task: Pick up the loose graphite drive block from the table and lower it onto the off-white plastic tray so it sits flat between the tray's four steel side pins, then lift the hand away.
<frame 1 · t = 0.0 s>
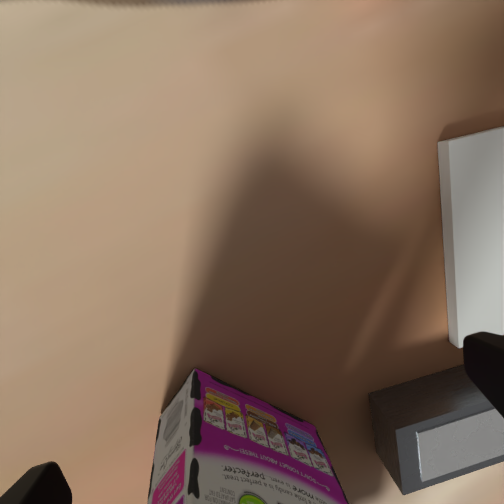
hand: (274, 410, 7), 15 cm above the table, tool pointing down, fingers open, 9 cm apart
candy bar box: (240, 420, 25), on the table
drive: (427, 403, 28), on the table
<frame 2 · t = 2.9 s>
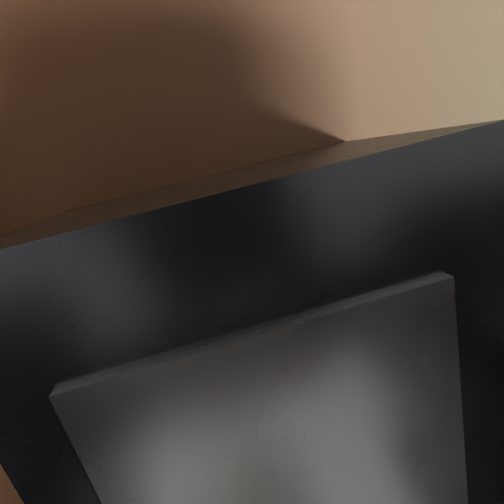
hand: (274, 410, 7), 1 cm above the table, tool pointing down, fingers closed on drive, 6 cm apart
drive: (262, 373, 8), on the table, touching gripper
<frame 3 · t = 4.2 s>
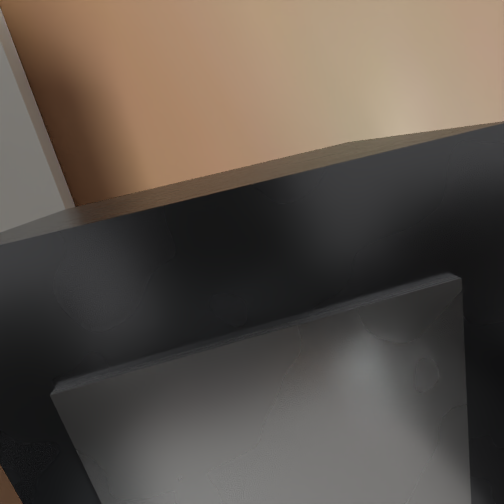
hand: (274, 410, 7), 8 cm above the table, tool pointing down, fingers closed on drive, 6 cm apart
drive: (263, 374, 8), point 7 cm above the table, touching gripper
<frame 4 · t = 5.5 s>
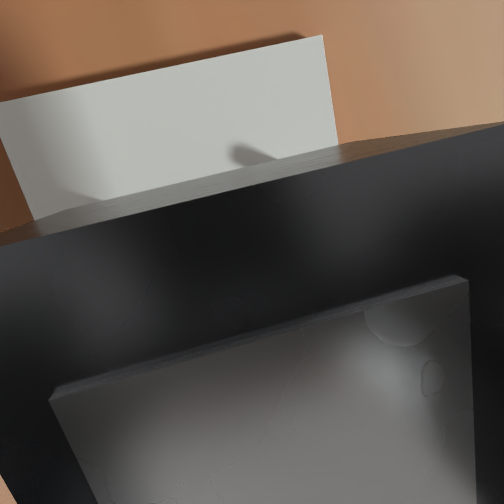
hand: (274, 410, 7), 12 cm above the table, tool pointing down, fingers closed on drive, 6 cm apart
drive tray: (211, 253, 18), on the table
drive: (264, 376, 8), point 11 cm above the table, touching gripper
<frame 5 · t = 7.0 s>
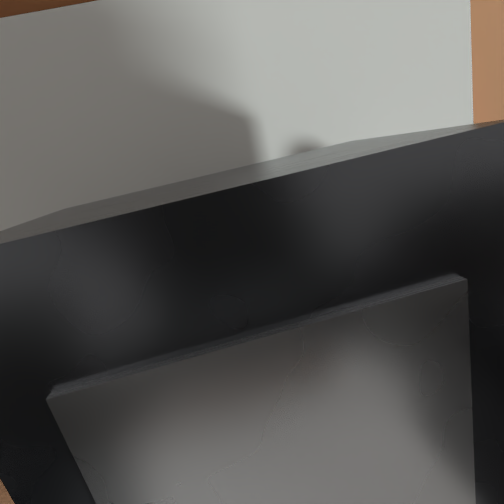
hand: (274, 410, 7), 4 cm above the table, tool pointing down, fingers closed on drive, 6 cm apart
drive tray: (245, 323, 11), on the table
drive: (263, 376, 8), point 3 cm above the table, touching gripper
when the fingers open (4 cm above the table, at t = 7.9 s): drive drops 1 cm, resting on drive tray.
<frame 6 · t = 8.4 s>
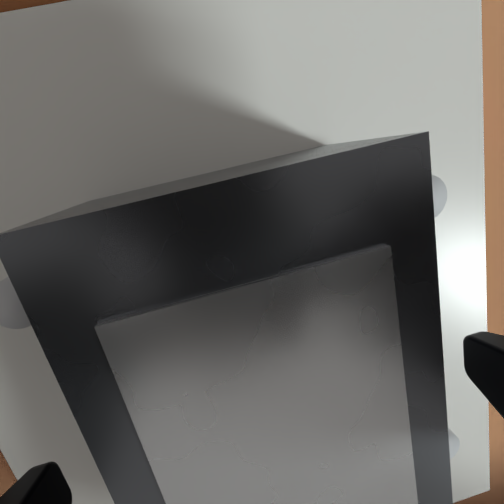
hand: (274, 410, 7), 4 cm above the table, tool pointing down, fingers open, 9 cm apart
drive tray: (248, 328, 11), on the table
drive: (254, 344, 10), point 1 cm above the table, touching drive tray
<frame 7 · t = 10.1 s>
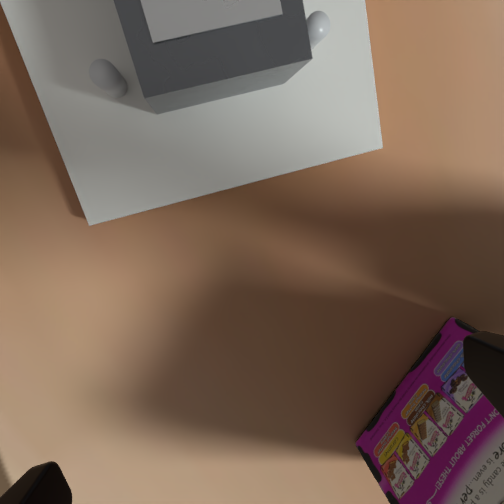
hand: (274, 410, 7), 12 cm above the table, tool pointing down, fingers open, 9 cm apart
candy bar box: (423, 391, 23), on the table
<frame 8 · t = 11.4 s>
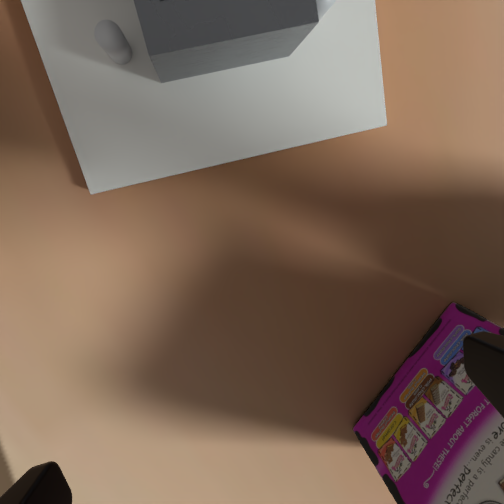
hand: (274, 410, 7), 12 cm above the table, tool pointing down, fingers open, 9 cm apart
candy bar box: (422, 377, 23), on the table
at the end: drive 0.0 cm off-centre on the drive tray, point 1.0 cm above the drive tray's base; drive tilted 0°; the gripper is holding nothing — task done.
